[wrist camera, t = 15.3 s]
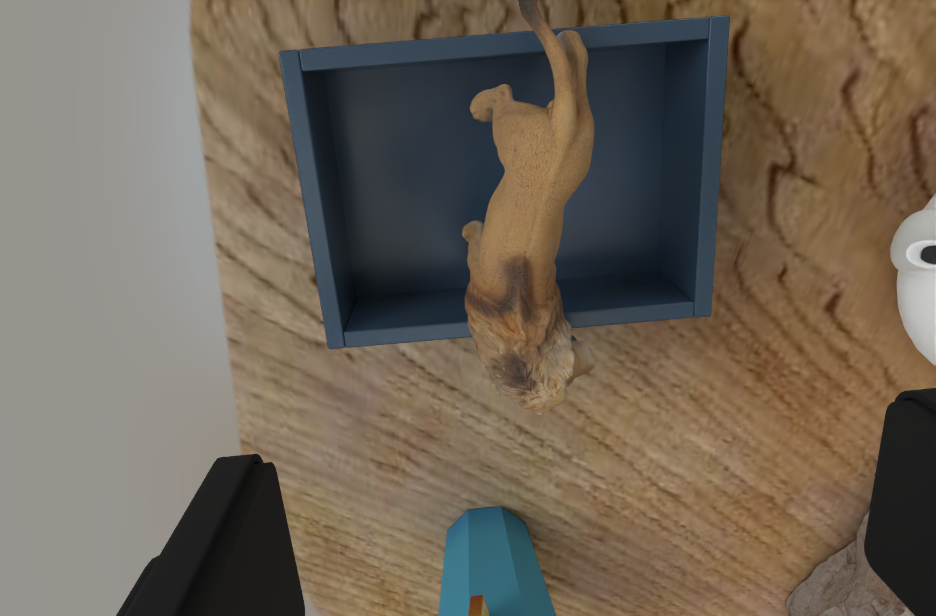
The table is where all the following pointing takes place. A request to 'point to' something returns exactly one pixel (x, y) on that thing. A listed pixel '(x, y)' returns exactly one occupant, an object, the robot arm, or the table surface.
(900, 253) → the teapot
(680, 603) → the table surface
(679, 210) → the dark blue storage bin
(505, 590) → the cup
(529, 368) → the lion figurine
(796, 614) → the stone
